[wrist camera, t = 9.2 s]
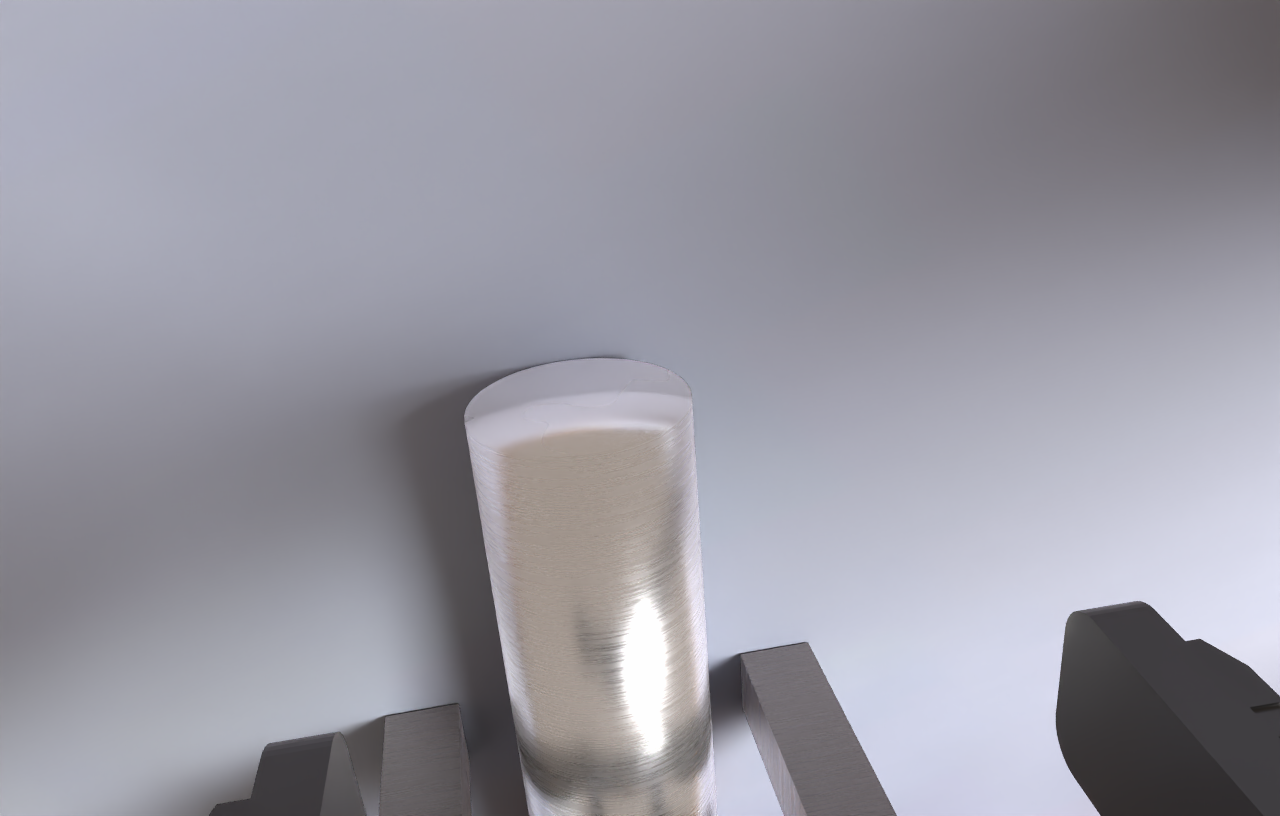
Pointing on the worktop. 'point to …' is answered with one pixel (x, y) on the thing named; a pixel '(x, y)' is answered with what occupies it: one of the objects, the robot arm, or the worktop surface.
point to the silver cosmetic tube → (598, 584)
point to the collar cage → (773, 705)
